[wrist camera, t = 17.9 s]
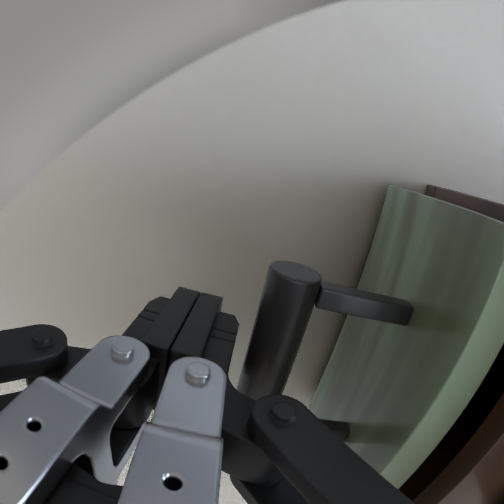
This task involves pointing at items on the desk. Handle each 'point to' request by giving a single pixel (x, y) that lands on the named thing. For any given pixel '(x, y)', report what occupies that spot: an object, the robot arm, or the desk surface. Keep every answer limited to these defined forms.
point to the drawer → (397, 338)
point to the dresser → (491, 430)
